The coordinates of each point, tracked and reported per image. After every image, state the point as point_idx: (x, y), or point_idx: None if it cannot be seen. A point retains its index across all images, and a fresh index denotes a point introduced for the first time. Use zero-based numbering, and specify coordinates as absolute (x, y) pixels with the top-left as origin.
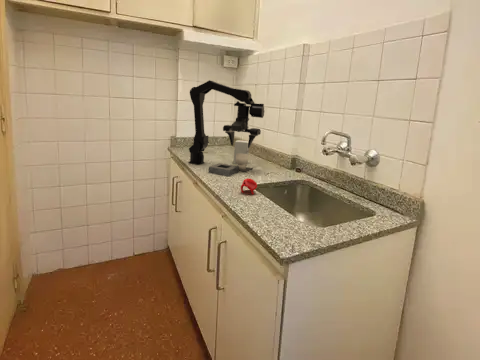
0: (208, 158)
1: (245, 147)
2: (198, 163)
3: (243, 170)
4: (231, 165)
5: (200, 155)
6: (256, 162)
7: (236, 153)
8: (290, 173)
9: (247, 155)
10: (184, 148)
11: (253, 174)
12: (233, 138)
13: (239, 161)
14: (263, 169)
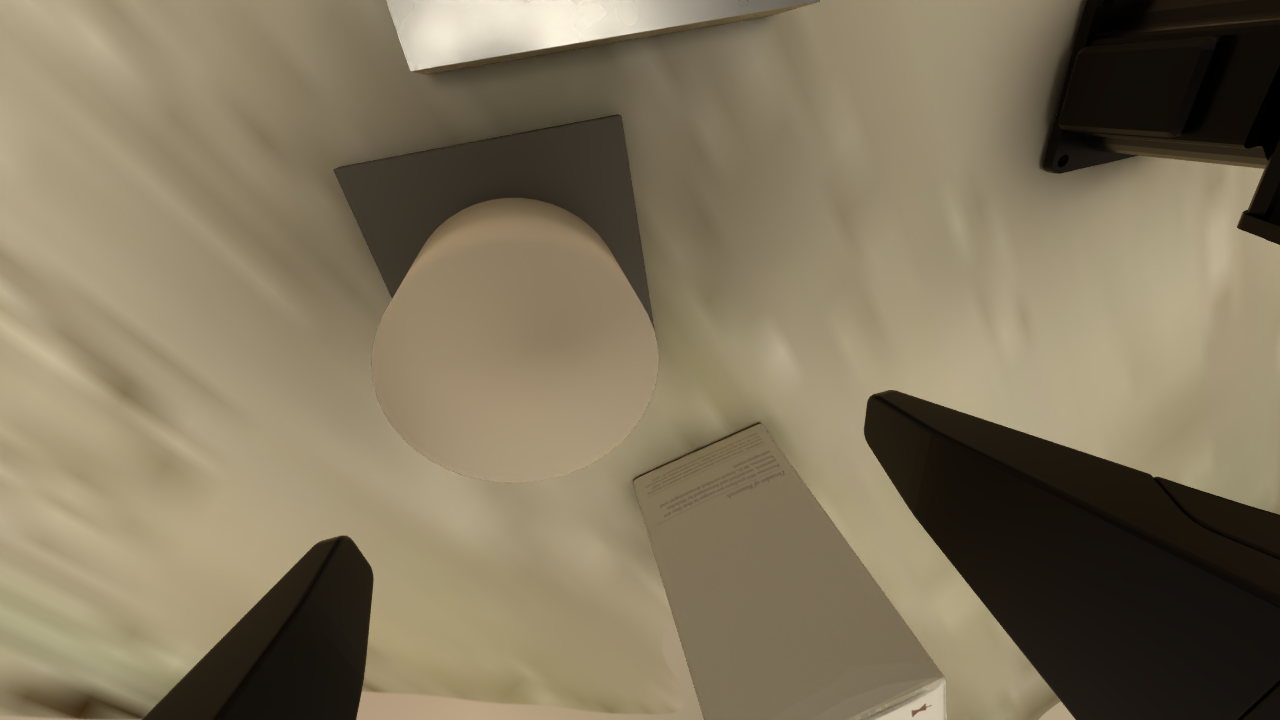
0: (1043, 386)
1: (718, 673)
2: (1108, 6)
3: (402, 180)
4: (546, 9)
5: (1233, 31)
6: (625, 620)
7: (792, 523)
8: (9, 605)
9: (386, 392)
10: (1274, 481)
11: (159, 147)
12: (1040, 638)
13: (493, 210)
14: (361, 494)
